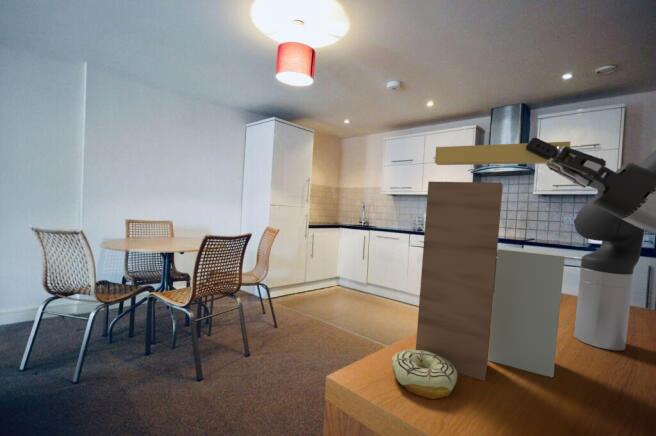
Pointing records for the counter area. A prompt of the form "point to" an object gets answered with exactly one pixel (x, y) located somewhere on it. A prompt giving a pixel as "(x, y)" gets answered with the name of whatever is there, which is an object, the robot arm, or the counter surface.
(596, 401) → the counter surface
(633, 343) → the counter surface
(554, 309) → the grey-green block
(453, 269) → the walnut pillar
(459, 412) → the counter surface
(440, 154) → the ochre bar
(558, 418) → the counter surface
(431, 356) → the decorated donut
